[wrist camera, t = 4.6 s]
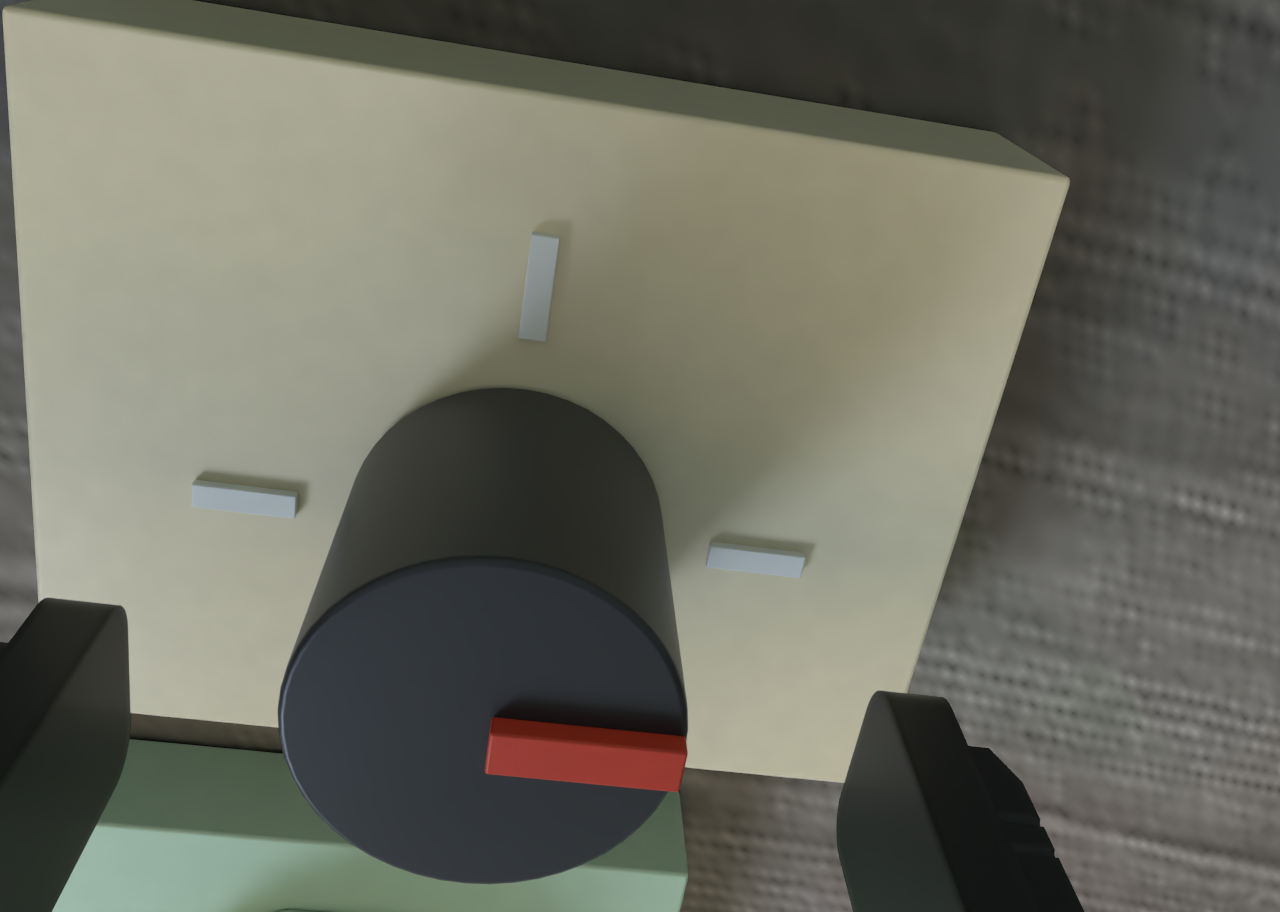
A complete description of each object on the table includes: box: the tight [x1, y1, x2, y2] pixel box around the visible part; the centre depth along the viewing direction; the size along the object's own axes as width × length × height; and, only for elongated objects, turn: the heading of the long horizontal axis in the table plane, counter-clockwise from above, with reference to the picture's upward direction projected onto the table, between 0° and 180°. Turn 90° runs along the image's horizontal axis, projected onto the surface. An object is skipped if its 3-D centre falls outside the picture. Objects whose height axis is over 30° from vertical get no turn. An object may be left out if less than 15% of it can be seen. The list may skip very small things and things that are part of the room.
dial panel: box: [2, 0, 1070, 783], centre depth 18 cm, size 13×10×3 cm
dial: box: [278, 388, 688, 884], centre depth 15 cm, size 4×4×5 cm
